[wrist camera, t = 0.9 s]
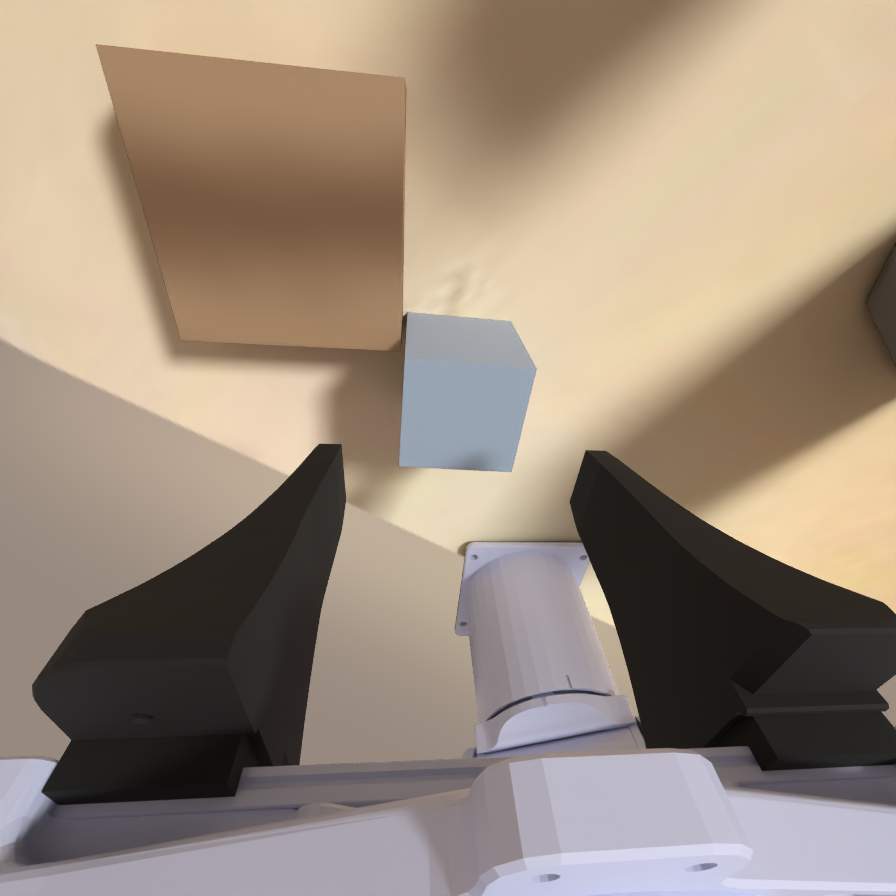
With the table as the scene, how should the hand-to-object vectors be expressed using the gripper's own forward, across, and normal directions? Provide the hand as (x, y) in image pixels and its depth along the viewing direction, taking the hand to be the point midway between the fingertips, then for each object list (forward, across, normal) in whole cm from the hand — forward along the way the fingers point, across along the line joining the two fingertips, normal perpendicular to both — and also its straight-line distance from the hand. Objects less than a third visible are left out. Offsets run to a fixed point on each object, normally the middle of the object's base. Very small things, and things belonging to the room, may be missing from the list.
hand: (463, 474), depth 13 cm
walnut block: (+9, +6, -5) cm, 12 cm away
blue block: (+8, 0, 0) cm, 8 cm away
